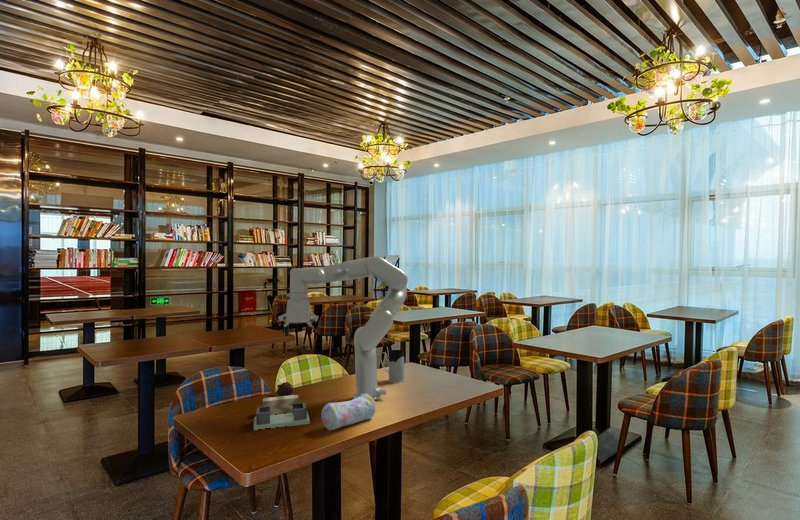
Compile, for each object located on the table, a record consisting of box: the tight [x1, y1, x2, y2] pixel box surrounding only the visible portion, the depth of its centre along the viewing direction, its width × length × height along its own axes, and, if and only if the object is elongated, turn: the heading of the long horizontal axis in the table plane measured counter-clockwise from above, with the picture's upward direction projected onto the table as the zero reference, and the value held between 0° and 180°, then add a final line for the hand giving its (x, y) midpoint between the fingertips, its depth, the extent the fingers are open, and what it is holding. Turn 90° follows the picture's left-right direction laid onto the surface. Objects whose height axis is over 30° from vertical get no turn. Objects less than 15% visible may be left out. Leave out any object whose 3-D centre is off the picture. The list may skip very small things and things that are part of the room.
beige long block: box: [262, 394, 300, 415], centre depth 188 cm, size 14×5×6 cm, turn 106°
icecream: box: [276, 381, 294, 397], centre depth 210 cm, size 7×7×15 cm
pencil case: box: [321, 393, 376, 432], centre depth 171 cm, size 21×9×10 cm, turn 136°
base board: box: [253, 411, 311, 431], centre depth 175 cm, size 20×11×2 cm, turn 106°
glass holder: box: [379, 349, 406, 384], centre depth 235 cm, size 9×14×15 cm, turn 57°
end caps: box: [255, 401, 308, 425], centre depth 175 cm, size 18×9×4 cm, turn 106°
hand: (298, 335), depth 201 cm, fingers open, 9 cm apart
